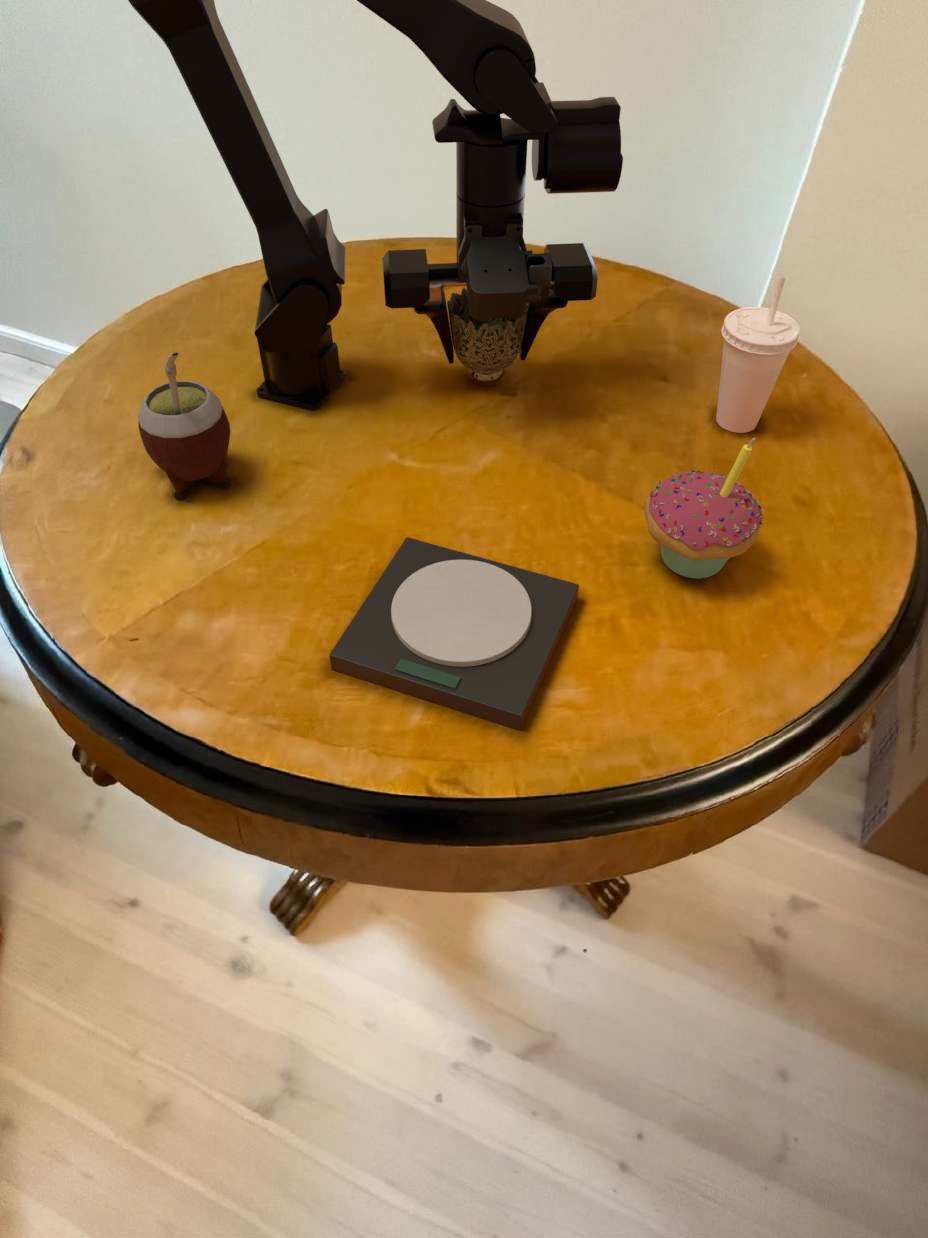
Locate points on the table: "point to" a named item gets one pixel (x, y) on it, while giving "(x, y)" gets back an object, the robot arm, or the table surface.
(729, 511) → the cupcake
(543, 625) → the scale
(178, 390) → the mate gourd
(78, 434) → the table surface
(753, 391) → the smoothie
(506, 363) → the cup
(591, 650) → the table surface
